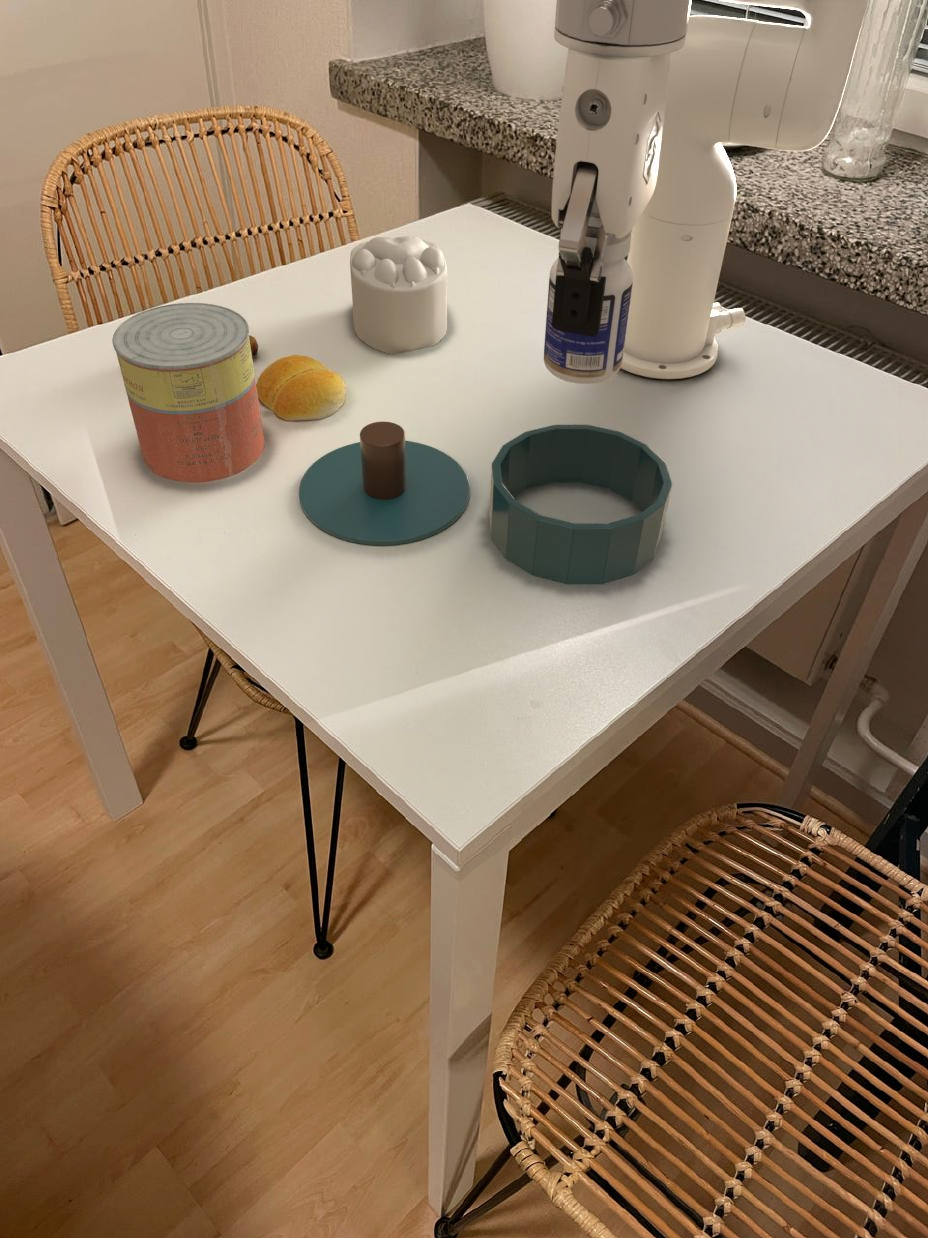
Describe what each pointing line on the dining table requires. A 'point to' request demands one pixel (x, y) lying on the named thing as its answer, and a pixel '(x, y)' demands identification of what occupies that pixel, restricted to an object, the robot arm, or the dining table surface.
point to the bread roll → (301, 389)
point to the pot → (567, 545)
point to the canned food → (191, 390)
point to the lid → (384, 489)
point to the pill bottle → (604, 351)
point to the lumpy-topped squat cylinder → (399, 293)
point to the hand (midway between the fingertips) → (588, 307)
